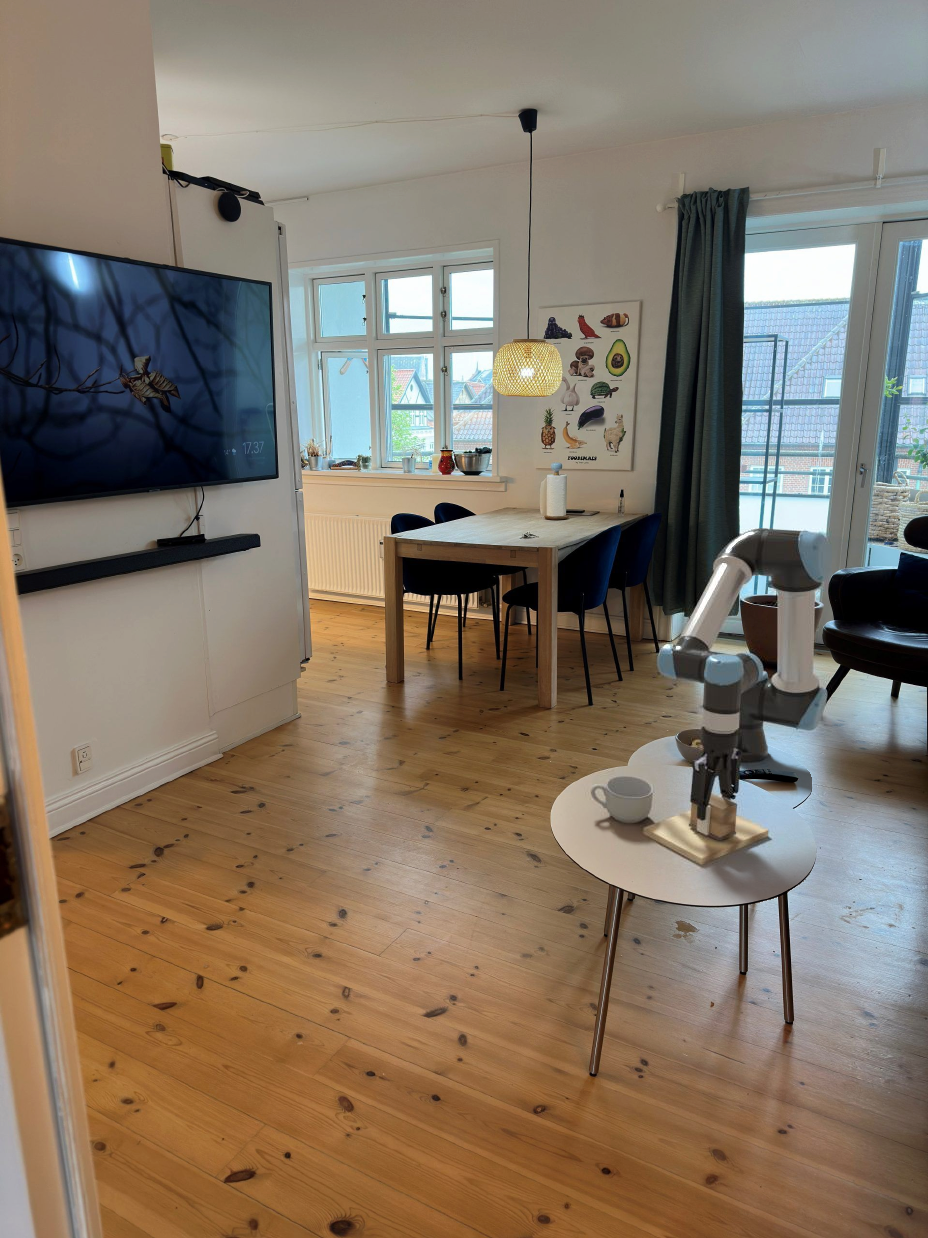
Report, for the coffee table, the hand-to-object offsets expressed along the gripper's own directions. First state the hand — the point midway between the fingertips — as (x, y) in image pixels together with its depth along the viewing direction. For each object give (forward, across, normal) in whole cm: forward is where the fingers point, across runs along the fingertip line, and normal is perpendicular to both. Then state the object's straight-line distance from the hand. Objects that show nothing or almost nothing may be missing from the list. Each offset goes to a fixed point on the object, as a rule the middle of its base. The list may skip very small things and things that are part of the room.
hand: (712, 828), depth 176 cm
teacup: (+3, +9, -19) cm, 21 cm away
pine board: (+2, 0, -2) cm, 3 cm away
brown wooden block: (0, 0, 0) cm, 0 cm away
